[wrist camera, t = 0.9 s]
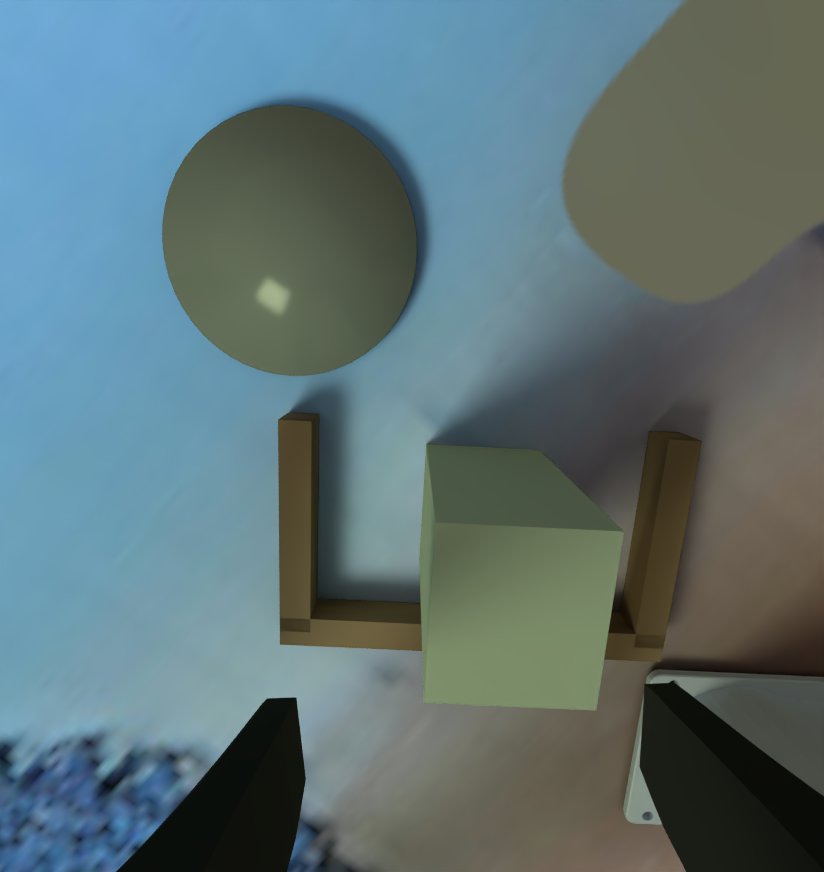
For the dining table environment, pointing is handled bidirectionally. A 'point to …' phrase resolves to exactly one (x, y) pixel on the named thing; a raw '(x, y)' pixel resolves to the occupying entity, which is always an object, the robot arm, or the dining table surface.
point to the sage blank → (512, 581)
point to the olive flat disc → (289, 240)
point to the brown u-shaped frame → (401, 622)
